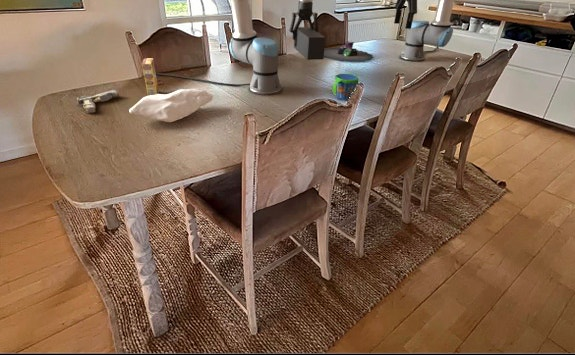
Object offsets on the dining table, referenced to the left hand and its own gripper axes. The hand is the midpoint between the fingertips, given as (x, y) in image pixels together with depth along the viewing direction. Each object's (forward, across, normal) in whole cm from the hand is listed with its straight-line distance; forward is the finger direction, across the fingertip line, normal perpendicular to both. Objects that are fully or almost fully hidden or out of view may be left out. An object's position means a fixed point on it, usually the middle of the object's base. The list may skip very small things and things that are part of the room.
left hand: (303, 45), depth 204 cm
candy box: (+13, -81, -32) cm, 88 cm away
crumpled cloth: (+13, -72, -56) cm, 92 cm away
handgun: (+13, -101, -40) cm, 110 cm away
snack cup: (+13, +6, -50) cm, 52 cm away
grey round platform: (+13, +38, +26) cm, 48 cm away
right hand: (-15, +44, -26) cm, 53 cm away
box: (+2, 0, -9) cm, 9 cm away
